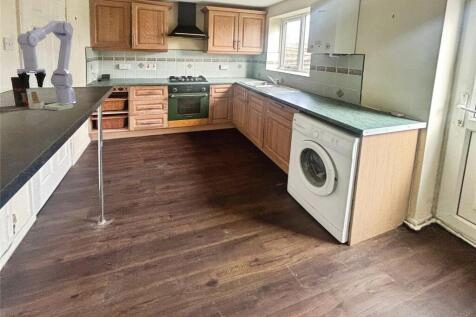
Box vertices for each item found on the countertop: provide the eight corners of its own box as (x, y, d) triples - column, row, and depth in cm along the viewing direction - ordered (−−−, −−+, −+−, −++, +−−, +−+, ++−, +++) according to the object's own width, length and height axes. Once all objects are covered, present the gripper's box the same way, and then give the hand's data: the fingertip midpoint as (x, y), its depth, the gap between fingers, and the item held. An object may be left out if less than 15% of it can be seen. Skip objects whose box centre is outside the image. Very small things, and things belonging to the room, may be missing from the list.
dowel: (37, 107, 168) (34, 91, 166) (41, 107, 167) (39, 91, 165) (32, 107, 165) (29, 92, 163) (36, 108, 165) (34, 92, 162)
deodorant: (22, 108, 167) (17, 78, 162) (12, 107, 168) (7, 77, 163) (31, 106, 172) (27, 77, 168) (22, 105, 173) (17, 76, 169)
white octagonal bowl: (37, 107, 170) (36, 101, 169) (47, 108, 169) (46, 102, 168) (26, 109, 164) (25, 103, 163) (36, 110, 163) (36, 104, 162)
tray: (60, 106, 175) (59, 102, 174) (74, 108, 173) (73, 104, 172) (43, 109, 165) (42, 105, 164) (58, 111, 163) (57, 107, 162)
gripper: (23, 60, 151) (27, 89, 155) (48, 60, 165) (52, 87, 169) (11, 59, 153) (16, 88, 157) (37, 59, 167) (41, 86, 171)
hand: (34, 88), depth 163 cm, fingers open, 7 cm apart
